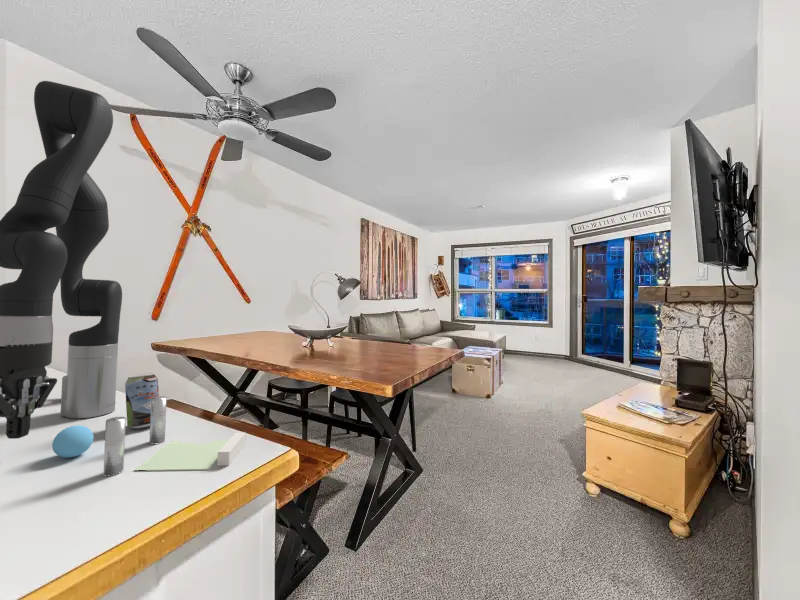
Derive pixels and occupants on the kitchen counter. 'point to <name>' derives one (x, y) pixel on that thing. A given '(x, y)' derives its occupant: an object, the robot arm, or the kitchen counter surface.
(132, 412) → the beverage can
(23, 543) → the kitchen counter surface
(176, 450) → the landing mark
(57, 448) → the ball
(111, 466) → the post
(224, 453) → the stopper wall
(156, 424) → the post
